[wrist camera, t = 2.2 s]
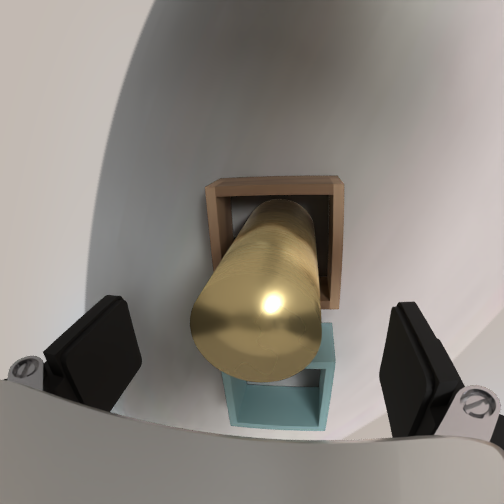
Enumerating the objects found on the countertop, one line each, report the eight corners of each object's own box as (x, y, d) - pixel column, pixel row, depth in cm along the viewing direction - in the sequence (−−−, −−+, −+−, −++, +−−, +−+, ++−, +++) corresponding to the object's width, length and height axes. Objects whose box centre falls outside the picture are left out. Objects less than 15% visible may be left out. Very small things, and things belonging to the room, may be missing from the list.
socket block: (220, 178, 18) (205, 187, 15) (337, 175, 17) (344, 184, 14) (229, 282, 20) (217, 306, 17) (334, 283, 19) (338, 309, 16)
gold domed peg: (244, 199, 18) (180, 272, 9) (314, 198, 17) (325, 275, 8) (248, 263, 19) (200, 376, 10) (314, 264, 19) (317, 384, 10)
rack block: (233, 320, 21) (219, 357, 17) (331, 323, 20) (335, 362, 16) (241, 388, 23) (230, 425, 20) (324, 391, 22) (324, 430, 19)
